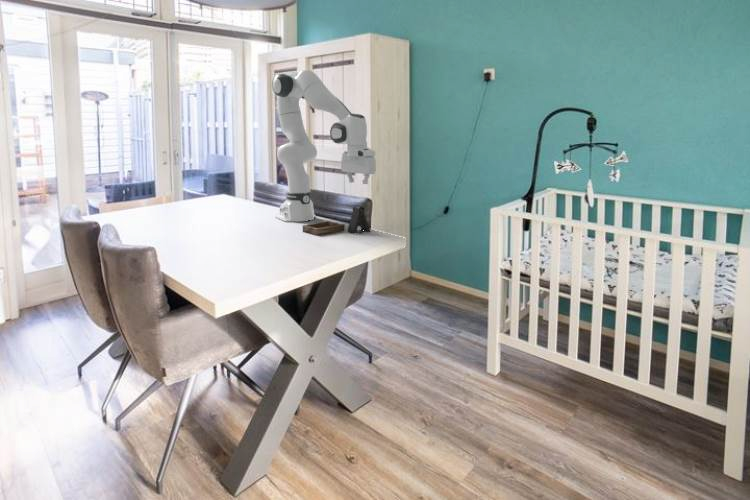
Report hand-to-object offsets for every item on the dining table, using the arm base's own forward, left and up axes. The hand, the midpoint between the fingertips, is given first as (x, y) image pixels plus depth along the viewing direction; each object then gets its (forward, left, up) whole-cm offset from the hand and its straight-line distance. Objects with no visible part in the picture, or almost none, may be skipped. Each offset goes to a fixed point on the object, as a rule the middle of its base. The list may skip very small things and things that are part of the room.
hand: (358, 183), depth 234 cm
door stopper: (0, 0, -23) cm, 23 cm away
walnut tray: (-12, -11, -22) cm, 28 cm away
